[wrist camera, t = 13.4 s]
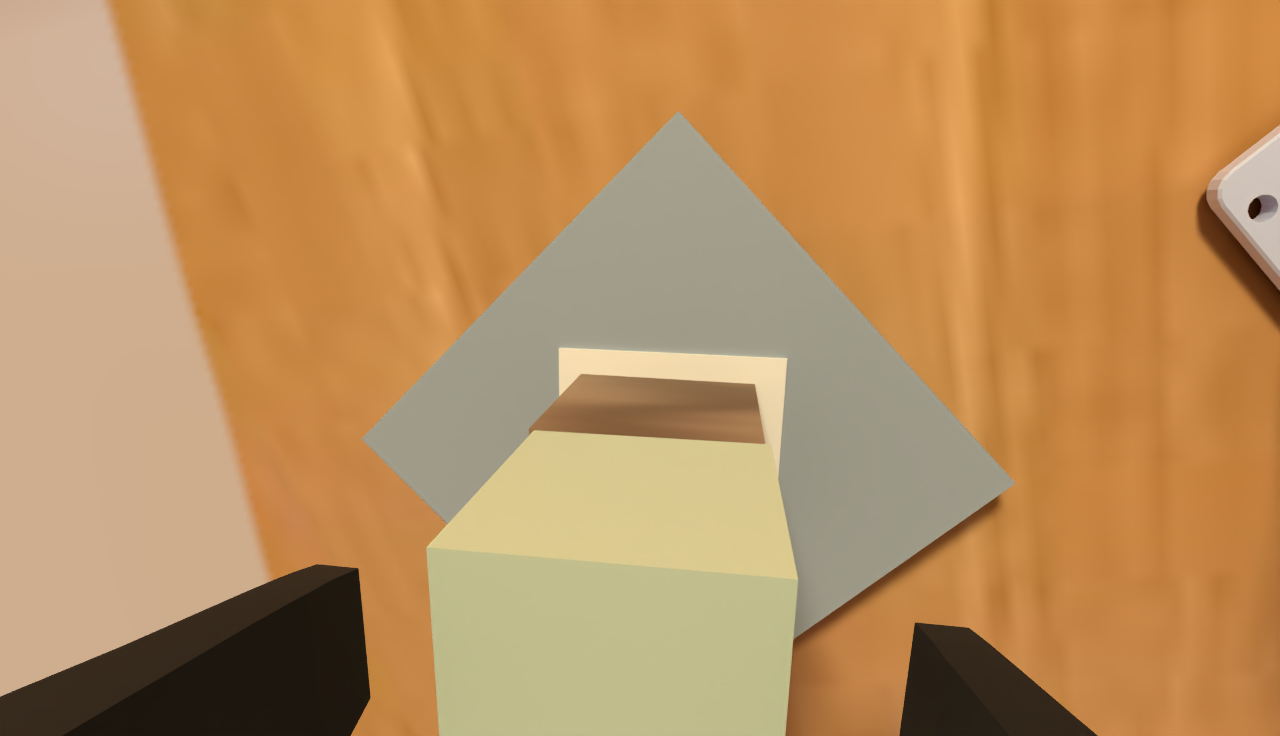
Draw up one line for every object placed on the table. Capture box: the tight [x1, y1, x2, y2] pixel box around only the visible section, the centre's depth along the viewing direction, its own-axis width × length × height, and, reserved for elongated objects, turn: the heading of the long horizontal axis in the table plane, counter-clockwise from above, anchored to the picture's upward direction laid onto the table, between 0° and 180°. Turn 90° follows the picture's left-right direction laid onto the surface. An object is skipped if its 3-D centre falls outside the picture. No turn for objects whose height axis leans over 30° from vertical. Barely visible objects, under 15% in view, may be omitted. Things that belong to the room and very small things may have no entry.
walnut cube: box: [529, 374, 765, 444], centre depth 13 cm, size 4×4×4 cm
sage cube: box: [426, 430, 798, 736], centre depth 9 cm, size 4×4×4 cm
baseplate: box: [362, 111, 1016, 639], centre depth 15 cm, size 11×11×1 cm
